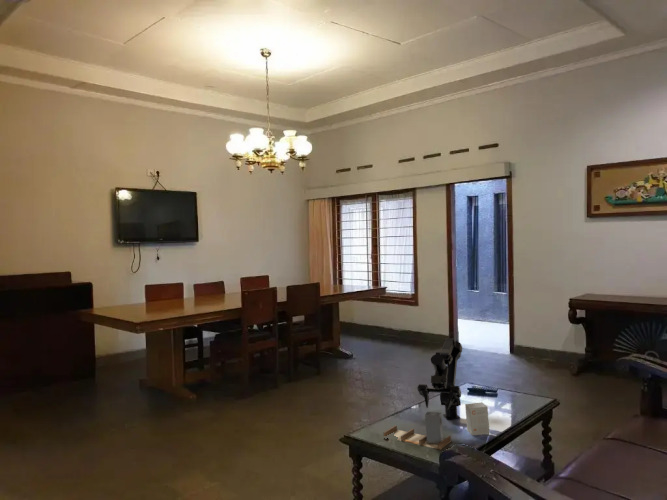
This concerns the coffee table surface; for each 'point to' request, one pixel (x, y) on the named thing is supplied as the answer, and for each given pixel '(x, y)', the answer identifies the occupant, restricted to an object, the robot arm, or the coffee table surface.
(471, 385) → the coffee table surface
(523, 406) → the coffee table surface
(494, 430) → the coffee table surface
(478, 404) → the small box
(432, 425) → the block
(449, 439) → the slot rack
